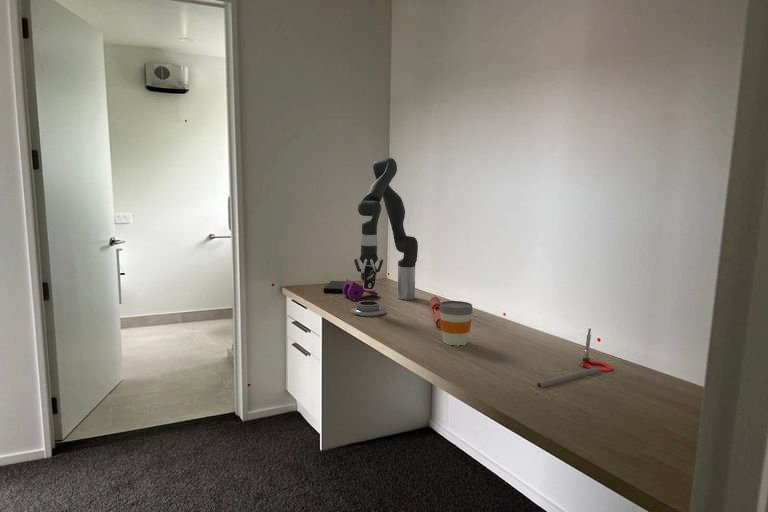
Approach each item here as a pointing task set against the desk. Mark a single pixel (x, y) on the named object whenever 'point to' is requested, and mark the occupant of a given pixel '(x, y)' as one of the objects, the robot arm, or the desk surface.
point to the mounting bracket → (355, 290)
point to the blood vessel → (436, 310)
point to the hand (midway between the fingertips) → (368, 280)
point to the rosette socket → (368, 308)
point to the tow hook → (588, 361)
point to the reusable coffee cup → (455, 321)
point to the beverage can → (369, 278)
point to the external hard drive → (334, 287)
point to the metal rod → (567, 377)
